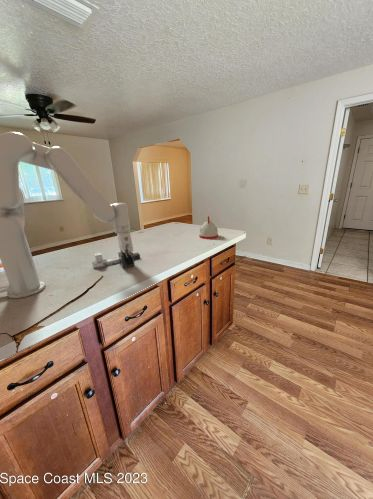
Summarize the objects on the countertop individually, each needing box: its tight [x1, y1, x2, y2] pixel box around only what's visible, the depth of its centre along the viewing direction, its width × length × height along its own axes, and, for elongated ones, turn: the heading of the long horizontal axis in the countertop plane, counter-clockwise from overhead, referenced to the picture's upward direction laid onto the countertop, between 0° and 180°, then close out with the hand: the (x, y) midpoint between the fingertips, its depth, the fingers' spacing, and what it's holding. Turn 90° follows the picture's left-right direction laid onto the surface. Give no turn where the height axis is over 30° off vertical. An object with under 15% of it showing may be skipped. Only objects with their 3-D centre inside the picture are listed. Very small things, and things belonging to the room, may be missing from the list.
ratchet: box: [91, 252, 141, 270], centre depth 110 cm, size 24×7×6 cm, turn 121°
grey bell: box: [199, 215, 219, 240], centre depth 152 cm, size 14×14×15 cm
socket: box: [117, 251, 135, 270], centre depth 105 cm, size 6×6×7 cm
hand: (127, 261), depth 106 cm, fingers open, 9 cm apart
